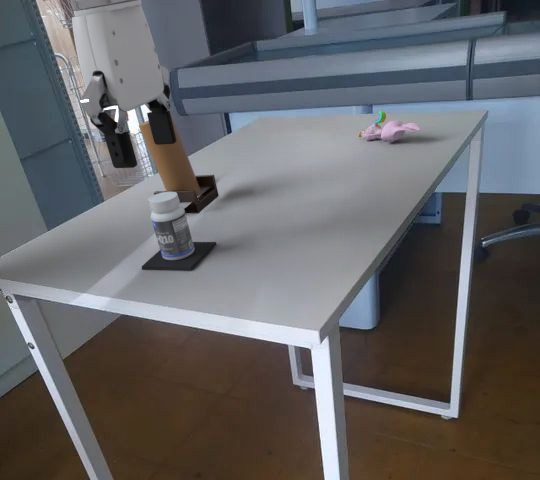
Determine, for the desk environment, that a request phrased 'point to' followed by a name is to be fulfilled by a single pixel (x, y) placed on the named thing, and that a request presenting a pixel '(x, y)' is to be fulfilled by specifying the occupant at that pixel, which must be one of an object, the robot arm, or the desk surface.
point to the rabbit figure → (387, 129)
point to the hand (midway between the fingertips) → (146, 154)
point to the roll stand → (192, 197)
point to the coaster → (183, 264)
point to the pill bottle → (171, 226)
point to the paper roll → (171, 162)
